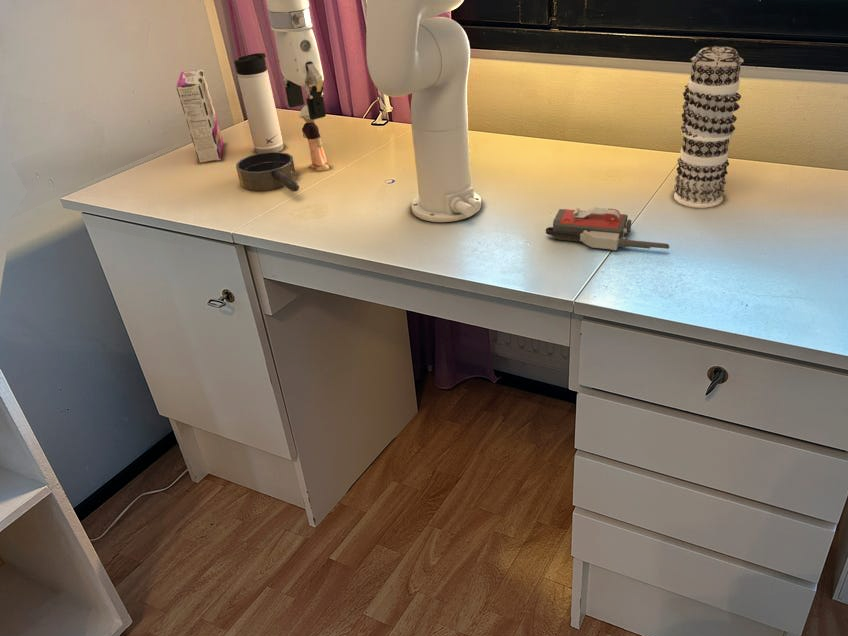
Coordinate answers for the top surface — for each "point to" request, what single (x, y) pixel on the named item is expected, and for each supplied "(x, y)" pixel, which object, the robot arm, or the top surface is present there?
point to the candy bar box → (200, 115)
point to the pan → (264, 170)
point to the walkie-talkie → (596, 229)
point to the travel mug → (259, 103)
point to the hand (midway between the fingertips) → (307, 111)
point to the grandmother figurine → (313, 141)
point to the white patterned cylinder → (707, 126)
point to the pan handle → (286, 180)
